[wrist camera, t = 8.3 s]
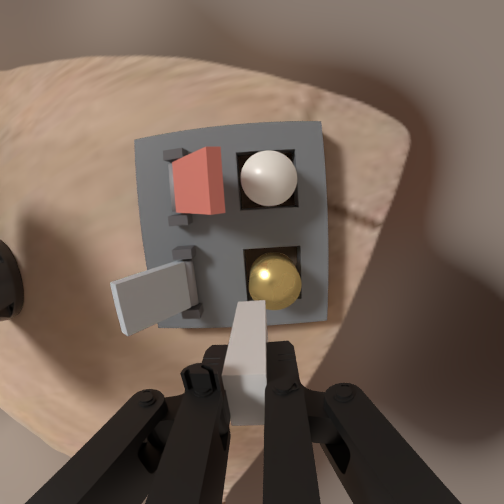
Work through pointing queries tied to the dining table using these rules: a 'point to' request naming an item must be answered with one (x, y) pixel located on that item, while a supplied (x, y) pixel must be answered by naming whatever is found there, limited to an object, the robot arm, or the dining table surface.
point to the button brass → (274, 281)
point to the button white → (268, 178)
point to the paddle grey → (154, 295)
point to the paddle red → (197, 182)
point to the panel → (237, 220)
